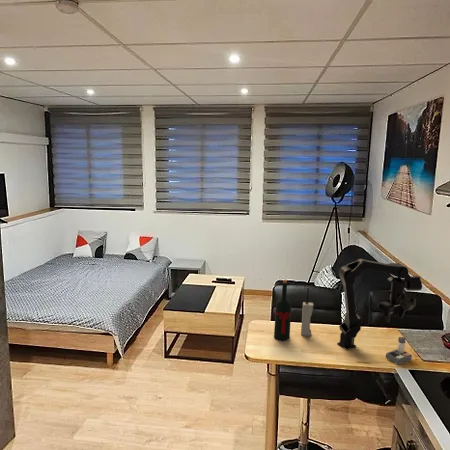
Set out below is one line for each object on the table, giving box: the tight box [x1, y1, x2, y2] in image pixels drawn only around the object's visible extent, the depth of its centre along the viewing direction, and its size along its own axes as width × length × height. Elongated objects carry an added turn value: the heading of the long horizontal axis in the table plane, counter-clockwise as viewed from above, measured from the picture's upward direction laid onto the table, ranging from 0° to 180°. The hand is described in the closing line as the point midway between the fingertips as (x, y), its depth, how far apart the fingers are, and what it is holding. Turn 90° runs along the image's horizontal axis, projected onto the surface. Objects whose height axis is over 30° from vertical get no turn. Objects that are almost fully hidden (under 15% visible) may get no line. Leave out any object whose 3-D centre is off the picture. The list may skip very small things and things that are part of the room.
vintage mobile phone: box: [300, 287, 314, 337], centre depth 196 cm, size 4×5×25 cm
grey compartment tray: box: [385, 348, 413, 366], centre depth 176 cm, size 9×6×3 cm
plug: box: [397, 336, 407, 355], centre depth 177 cm, size 3×3×9 cm
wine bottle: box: [273, 279, 292, 342], centre depth 190 cm, size 8×10×30 cm
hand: (394, 320), depth 186 cm, fingers open, 9 cm apart
